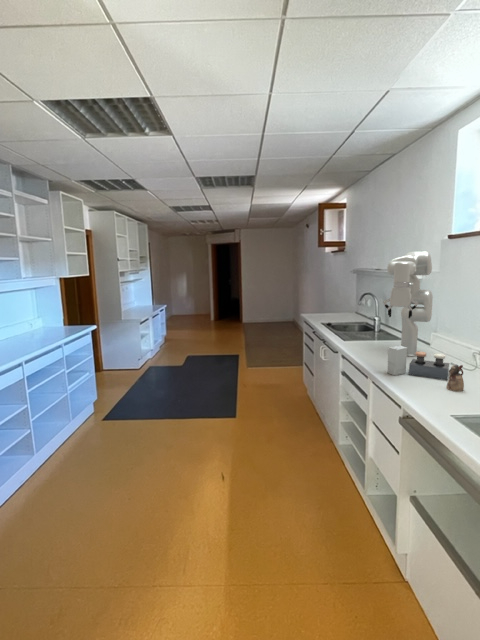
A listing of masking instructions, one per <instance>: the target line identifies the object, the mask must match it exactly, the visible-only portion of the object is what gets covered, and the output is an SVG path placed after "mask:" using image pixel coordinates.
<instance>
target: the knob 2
mask: <svg viewBox="0 0 480 640" xmlns="http://www.w3.org/2000/svg"><path fill="white" fill-rule="evenodd" d="M433 358H434V359H435V360H434V362H435V366H442V367H443V363H444V359H445V358H446V355H445V354H443V353H434V355H433Z"/></svg>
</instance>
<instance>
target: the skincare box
mask: <svg viewBox="0 0 480 640" xmlns="http://www.w3.org/2000/svg"><path fill="white" fill-rule="evenodd" d="M387 351H388V352H387V374H389V375H391V376H395V377H397V376H400V375H405V374H406V373H407V358H408V356H407V348H406V347H403V346H401V345H395V346H391V347H388V350H387Z"/></svg>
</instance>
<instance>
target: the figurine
mask: <svg viewBox="0 0 480 640" xmlns="http://www.w3.org/2000/svg"><path fill="white" fill-rule="evenodd" d="M462 368H464V365H463V364H461V365H458V364H457V363H455V364H453V365H451V367H450V368H449V375H448V379H447V383H446V389H447V390H449V391H453V392H462V391H464V388H465V384H464V377H463V375H464V371H463V369H462ZM460 372H461V373H460Z"/></svg>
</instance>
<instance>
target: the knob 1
mask: <svg viewBox="0 0 480 640" xmlns="http://www.w3.org/2000/svg"><path fill="white" fill-rule="evenodd" d="M426 356H427V352H425V351H418V350H417V352H416V356H415V357H416V359H417V363H418V364H424V360H425V357H426Z"/></svg>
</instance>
